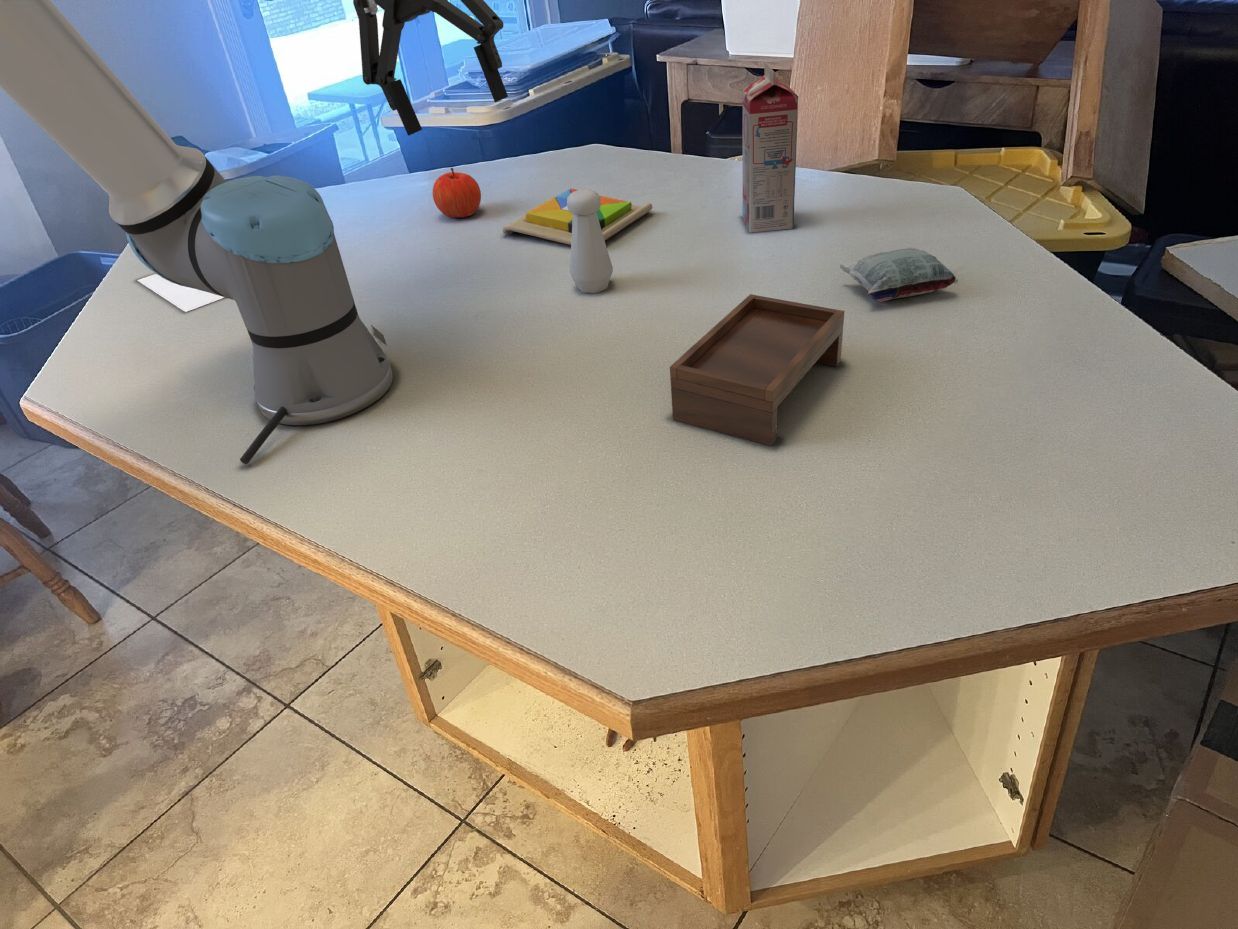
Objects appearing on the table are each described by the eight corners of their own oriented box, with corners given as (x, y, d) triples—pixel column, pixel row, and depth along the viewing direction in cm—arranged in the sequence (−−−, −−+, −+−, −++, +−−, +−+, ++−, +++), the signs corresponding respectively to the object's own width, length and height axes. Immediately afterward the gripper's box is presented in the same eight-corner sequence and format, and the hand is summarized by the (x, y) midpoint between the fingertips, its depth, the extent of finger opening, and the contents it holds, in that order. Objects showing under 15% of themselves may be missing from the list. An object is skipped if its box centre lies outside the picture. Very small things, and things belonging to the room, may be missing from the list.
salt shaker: (609, 296, 110) (599, 199, 102) (568, 296, 111) (555, 200, 103) (617, 278, 114) (609, 184, 107) (578, 278, 116) (566, 185, 108)
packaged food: (838, 284, 106) (841, 247, 103) (924, 269, 108) (929, 233, 105) (867, 312, 100) (871, 274, 97) (958, 297, 101) (965, 259, 98)
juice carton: (749, 232, 124) (750, 74, 111) (742, 217, 129) (742, 64, 116) (793, 228, 123) (799, 69, 111) (784, 213, 129) (789, 60, 116)
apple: (429, 217, 142) (418, 170, 138) (467, 204, 147) (458, 158, 142) (454, 226, 137) (444, 178, 133) (493, 212, 141) (484, 165, 137)
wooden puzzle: (598, 252, 123) (596, 229, 120) (499, 237, 131) (496, 216, 129) (656, 213, 134) (654, 191, 132) (561, 201, 143) (559, 181, 141)
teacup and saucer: (182, 281, 128) (171, 256, 126) (231, 264, 132) (221, 240, 130) (204, 295, 123) (194, 269, 120) (254, 276, 127) (245, 251, 124)
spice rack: (771, 446, 79) (772, 391, 75) (672, 419, 84) (669, 366, 81) (840, 362, 91) (844, 310, 87) (749, 342, 96) (750, 293, 92)
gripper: (483, -112, 95) (550, 79, 104) (320, -29, 105) (395, 139, 114) (454, -114, 89) (529, 89, 98) (285, -25, 99) (367, 151, 108)
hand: (457, 116), depth 106 cm, fingers open, 13 cm apart
